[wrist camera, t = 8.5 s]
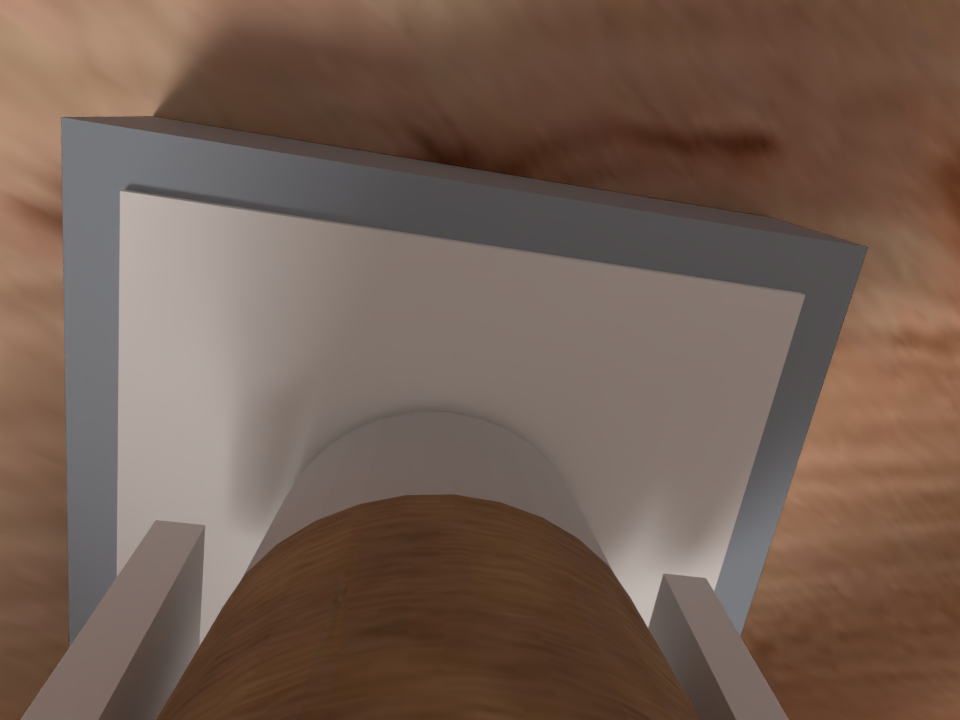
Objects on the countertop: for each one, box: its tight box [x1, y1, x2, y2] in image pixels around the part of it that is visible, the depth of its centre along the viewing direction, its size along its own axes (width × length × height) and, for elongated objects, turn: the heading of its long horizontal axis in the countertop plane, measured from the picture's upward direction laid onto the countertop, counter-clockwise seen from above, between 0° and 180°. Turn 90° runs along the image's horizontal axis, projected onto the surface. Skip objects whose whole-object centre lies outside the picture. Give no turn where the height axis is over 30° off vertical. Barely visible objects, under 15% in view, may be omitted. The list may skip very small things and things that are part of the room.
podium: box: [61, 116, 868, 647], centre depth 16 cm, size 14×14×4 cm
